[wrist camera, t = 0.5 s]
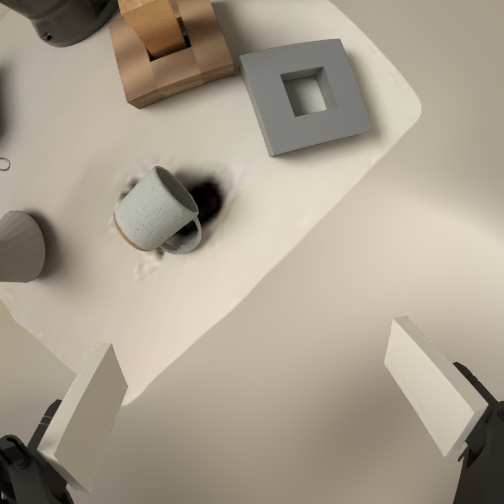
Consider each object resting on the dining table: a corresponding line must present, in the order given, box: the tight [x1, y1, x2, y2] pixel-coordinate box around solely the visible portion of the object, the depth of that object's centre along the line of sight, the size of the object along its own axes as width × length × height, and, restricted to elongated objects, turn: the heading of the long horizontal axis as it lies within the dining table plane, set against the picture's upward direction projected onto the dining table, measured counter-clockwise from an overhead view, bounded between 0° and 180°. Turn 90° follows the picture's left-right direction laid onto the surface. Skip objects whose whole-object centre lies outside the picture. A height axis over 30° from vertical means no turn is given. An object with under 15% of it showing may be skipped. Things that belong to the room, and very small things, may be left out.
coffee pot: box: [0, 157, 46, 283], centre depth 28 cm, size 21×12×15 cm, turn 141°
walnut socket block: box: [109, 0, 234, 109], centre depth 28 cm, size 13×13×4 cm
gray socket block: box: [239, 39, 373, 157], centre depth 31 cm, size 13×13×4 cm
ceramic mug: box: [114, 166, 202, 254], centre depth 33 cm, size 11×8×8 cm
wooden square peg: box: [118, 0, 187, 60], centre depth 22 cm, size 4×4×16 cm
